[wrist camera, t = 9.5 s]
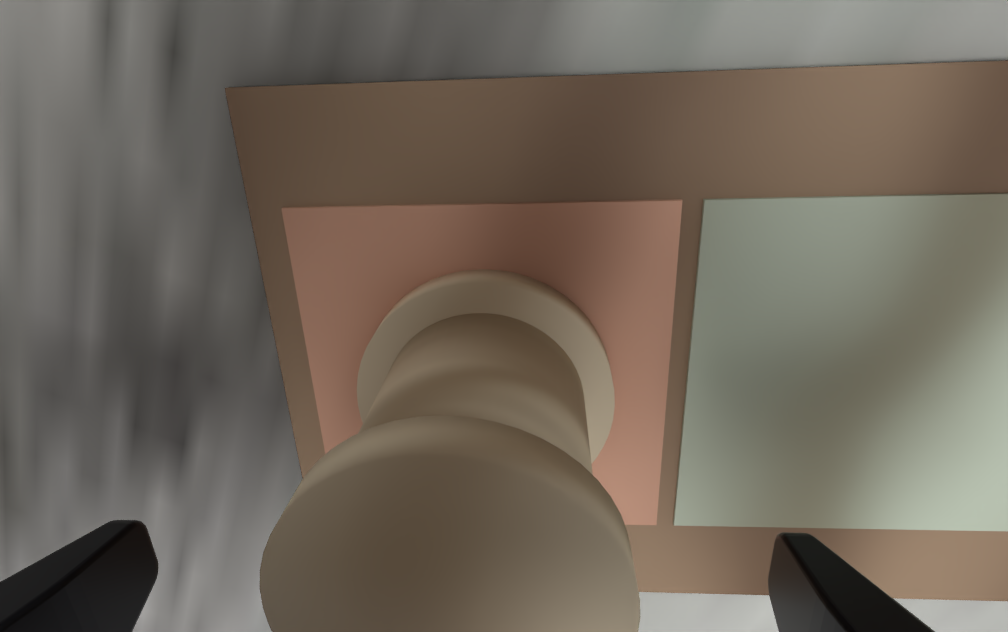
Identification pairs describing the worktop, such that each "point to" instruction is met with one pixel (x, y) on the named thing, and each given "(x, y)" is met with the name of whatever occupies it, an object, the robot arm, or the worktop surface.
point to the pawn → (463, 478)
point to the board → (689, 289)
